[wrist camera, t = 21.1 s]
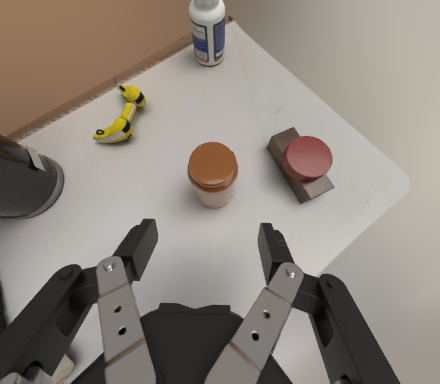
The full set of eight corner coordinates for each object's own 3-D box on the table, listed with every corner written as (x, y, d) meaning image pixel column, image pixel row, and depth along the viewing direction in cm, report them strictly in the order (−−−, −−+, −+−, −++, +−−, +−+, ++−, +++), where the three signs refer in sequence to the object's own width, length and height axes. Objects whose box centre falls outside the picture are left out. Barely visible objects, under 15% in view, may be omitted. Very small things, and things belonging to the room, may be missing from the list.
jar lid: (309, 137, 25) (316, 129, 23) (333, 171, 24) (342, 166, 22) (273, 152, 24) (277, 145, 23) (295, 189, 23) (301, 185, 21)
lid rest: (300, 204, 26) (311, 199, 23) (266, 147, 28) (271, 136, 25) (322, 193, 26) (334, 187, 23) (286, 138, 28) (293, 126, 26)
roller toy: (-56, 418, 14) (22, 346, 16) (16, 376, 20) (67, 327, 22) (-28, 469, 13) (50, 386, 16) (39, 410, 19) (89, 355, 21)
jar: (205, 214, 25) (197, 197, 16) (191, 182, 26) (176, 150, 17) (239, 199, 26) (249, 174, 17) (223, 168, 27) (225, 130, 18)
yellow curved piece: (134, 148, 27) (114, 134, 24) (107, 148, 30) (86, 135, 27) (157, 96, 30) (141, 77, 27) (130, 100, 32) (113, 83, 29)
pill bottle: (221, 43, 34) (221, -33, 25) (227, 64, 33) (229, -8, 23) (193, 47, 34) (182, -28, 24) (197, 69, 32) (188, -2, 23)
